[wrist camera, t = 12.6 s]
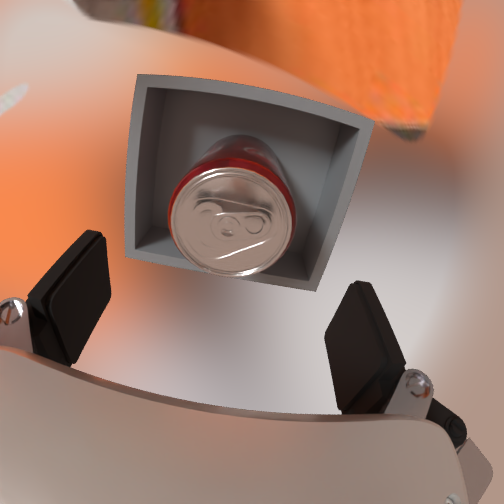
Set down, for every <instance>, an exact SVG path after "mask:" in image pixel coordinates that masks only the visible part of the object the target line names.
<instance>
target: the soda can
mask: <svg viewBox="0 0 504 504" xmlns="http://www.w3.org/2000/svg"><path fill="white" fill-rule="evenodd" d="M296 224H297V214H296V208H295V204H294V200H293V197H292V194H291V192H290V189H289V186H288V184H287V181H286V179H285V176H284V173H283V171H282V168H281V166H280V163H279V161H278V158H277V157H276V155H275V153H274V151H273V150H272V149H271V148H270V146H268V145H267V144H266V143H265V142H263V141H262V140H260V139H258V138H256V137H253V136H249V135H242V134H238V135H231V136H227V137H224V138H222V139H220V140H218V141H217V142H215V143H214V144H213V145H212V146H211V147H210V148H209V149H208V150H207V151H206V152H205V153H204V154H203V155H202V156H201V157H200V159H199V160H198V161H197V162H196V163H195V164H194V165H193V166H192V168H191V169H190V170H189V171H188V172H187V173H186V174H185V175H184V177H183V178H182V179H181V180H180V182H179V183H178V185H177V186H176V187H175V189H174V191H173V193H172V196H171V198H170V201H169V206H168V225H169V230H170V234H171V237H172V239H173V241H174V243H175V245H176V247H177V248H178V250H179V251H180V252H181V254H182V255H183V256H184V257H185V258H186V259H187V260H188V261H189V262H190V263H192V264H193V265H195V266H196V267H198V268H199V269H201V270H204V271H206V272H208V273H210V274H214V275H218V276H222V277H244V276H249V275H253V274H256V273H259V272H261V271H263V270H266V269H267V268H269V267H270V266H272V265H273V264H275V263H276V262H277V261H278V260H279V259H280V258H281V257H282V256H283V255H284V253H285V252H286V250H287V249H288V247H289V246H290V244H291V242H292V239H293V237H294V235H295V230H296Z"/></svg>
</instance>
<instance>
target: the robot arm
mask: <svg viewBox="0 0 504 504" xmlns="http://www.w3.org/2000/svg"><path fill="white" fill-rule="evenodd" d="M110 298H111V286H110V277H109V268H108V258H107V246H106V238H105V237H103V235H102V233H101V232H98V231H92V230H86V231H85V232H84V233H83V234H82V235H81V236H80V237H79V238H78V239H77V240H76V241H75V242H74V243H73V244H72V245H71V246H70V247H69V248H68V249H67V251H66V252H65V253H64V254H63V255H62V256H61V257H60V258H59V259H58V260H57V261H56V263H55V264H54V265H53V266H52V267H51V268H50V269H49V270H48V271H47V273H46V274H45V275H44V276H43V277H42V278H41V280H40V281H39V282H38V283H37V284H36V285H35V287H34V288H33V289H32V290H31V291H30V293H29V294H28V299H27V300H26V302H24V300H22V299H20V298H16V297H13V298H8V299H5V300H3V301H2V302H0V504H477V503H478V502H479V500H480V499H481V497H482V495H483V494H484V492H485V490H486V489H487V487H488V485H489V484H490V482H491V480H492V477H493V470H492V467H491V464H490V463H489V462H488V460H487V459H486V458H485V456H484V455H483V454H482V453H481V451H480V450H479V449H478V447H477V446H476V445H475V444H474V443H473V441H472V440H471V439H470V438H468V439H466V437H467V429H466V426H465V424H464V422H463V420H462V419H461V418H460V417H459V416H457V415H456V414H454V413H453V412H452V411H450V410H449V409H447V408H446V407H445V406H443V405H442V404H441V403H439V402H438V401H437V400H435V399H434V398H432V397H433V391H434V389H433V384H432V383H431V380H430V379H429V378H428V376H427V375H425V374H424V373H423V372H422V371H419V370H417V369H408V370H405V367H404V366H405V364H406V361H405V359H404V356H403V354H402V351H401V349H400V346H399V344H398V342H397V339H396V337H395V335H394V332H393V330H392V328H391V325H390V323H389V321H388V319H387V317H386V314H385V312H384V310H383V308H382V305H381V303H380V301H379V299H378V297H377V295H376V293H375V291H374V289H373V287H372V284H370V283H369V282H363V281H355V282H354V284H353V283H351V284H350V286H349V287H348V289H347V291H346V293H345V295H344V297H343V299H342V301H341V303H340V305H339V307H338V309H337V311H336V313H335V315H334V317H333V319H332V321H331V322H330V324H329V326H328V328H327V330H326V332H325V337H324V339H325V344H326V349H327V354H328V359H329V364H330V369H331V375H332V379H333V385H334V391H335V396H336V402H337V407H338V409H339V410H341V412H342V415H321V414H317V415H316V414H291V413H276V412H264V411H263V412H262V411H254V410H245V409H236V408H229V407H222V406H215V405H209V404H203V403H197V402H192V401H187V400H182V399H177V398H172V397H168V396H163V395H159V394H155V393H151V392H147V391H143V390H139V389H135V388H132V387H128V386H125V385H121V384H118V383H114V382H111V381H108V380H105V379H102V378H99V377H95V376H93V375H90V374H87V373H84V372H81V371H79V370H76V369H73V368H70V367H71V365H72V363H73V364H75V363H76V362H77V360H78V358H79V356H80V354H81V352H82V350H83V348H84V346H85V344H86V343H87V341H88V339H89V337H90V335H91V333H92V331H93V329H94V327H95V326H96V324H97V322H98V320H99V318H100V317H101V315H102V313H103V311H104V309H105V308H106V306H107V304H108V303H109V301H110Z"/></svg>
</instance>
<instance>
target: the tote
mask: <svg viewBox="0 0 504 504" xmlns="http://www.w3.org/2000/svg"><path fill="white" fill-rule="evenodd" d="M374 122H375V121H373V120H371V119H368V118H365V117H363V116H360V115H357V114H354V113H351V112H349V111H345V110H342V109H339V108H336V107H333V106H330V105H327V104H324V103H320V102H317V101H313V100H310V99H306V98H302V97H298V96H295V95H290V94H287V93H282V92H278V91H274V90H269V89H264V88H259V87H254V86H249V85H244V84H237V83H232V82H224V81H218V80H211V79H202V78H193V77H183V76H168V75H147V74H137V80H136V86H135V92H134V98H133V105H132V113H131V121H130V129H129V139H128V151H127V164H126V183H125V257H128V258H133V259H138V260H143V261H148V262H152V263H158V264H163V265H168V266H173V267H178V268H183V269H188V270H194V271H199V272H204V273H208V272H206V271H204V270H201V269H199V268H198V267H196V266H195V265H193V264H192V263H190V262H189V261H188V260H187V259H186V258H185V257H184V256H183V255H182V254H181V252H180V251H179V250H178V248H177V247H176V245H175V243H174V241H173V239H172V237H171V234H170V230H169V225H168V206H169V201H170V198H171V196H172V193H173V191H174V189H175V187H176V186H177V185H178V183H179V182H180V180H181V179H182V178H183V177H184V175H185V174H186V173H187V172H188V171H189V170H190V169H191V168H192V166H193V165H194V164H195V163H196V162H197V161H198V160H199V159H200V157H201V156H202V155H203V154H204V153H205V152H206V151H207V150H208V149H209V148H210V147H211V146H212V145H213V144H214V143H215V142H217V141H218V140H220V139H222V138H224V137H227V136H231V135H238V134H242V135H249V136H253V137H256V138H258V139H260V140H262V141H263V142H265V143H266V144H267V145H268V146H270V148H271V149H272V150H273V151H274V153H275V155H276V157H277V158H278V161H279V163H280V166H281V168H282V171H283V173H284V176H285V179H286V181H287V184H288V186H289V189H290V192H291V194H292V197H293V200H294V204H295V208H296V214H297V224H296V230H295V235H294V237H293V239H292V242H291V244H290V246H289V247H288V249H287V250H286V252H285V253H284V255H283V256H282V257H281V258H280V259H279V260H278V261H277V262H276V263H275V264H273V265H272V266H270V267H269V268H267V269H266V270H263V271H261V272H259V273H256V274H253V275H249V276H244V277H232V278H237V279H243V280H249V281H254V282H260V283H267V284H272V285H278V286H284V287H291V288H296V289H303V290H309V291H315V292H316V290H317V287H318V285H319V282H320V280H321V277H322V275H323V272H324V270H325V268H326V265H327V262H328V260H329V257H330V255H331V252H332V250H333V247H334V244H335V242H336V239H337V236H338V234H339V231H340V228H341V226H342V223H343V220H344V217H345V214H346V211H347V209H348V205H349V203H350V200H351V197H352V194H353V191H354V188H355V185H356V182H357V179H358V176H359V173H360V170H361V167H362V163H363V160H364V157H365V153H366V150H367V147H368V144H369V140H370V137H371V133H372V130H373V126H374ZM209 274H210V273H209Z"/></svg>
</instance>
